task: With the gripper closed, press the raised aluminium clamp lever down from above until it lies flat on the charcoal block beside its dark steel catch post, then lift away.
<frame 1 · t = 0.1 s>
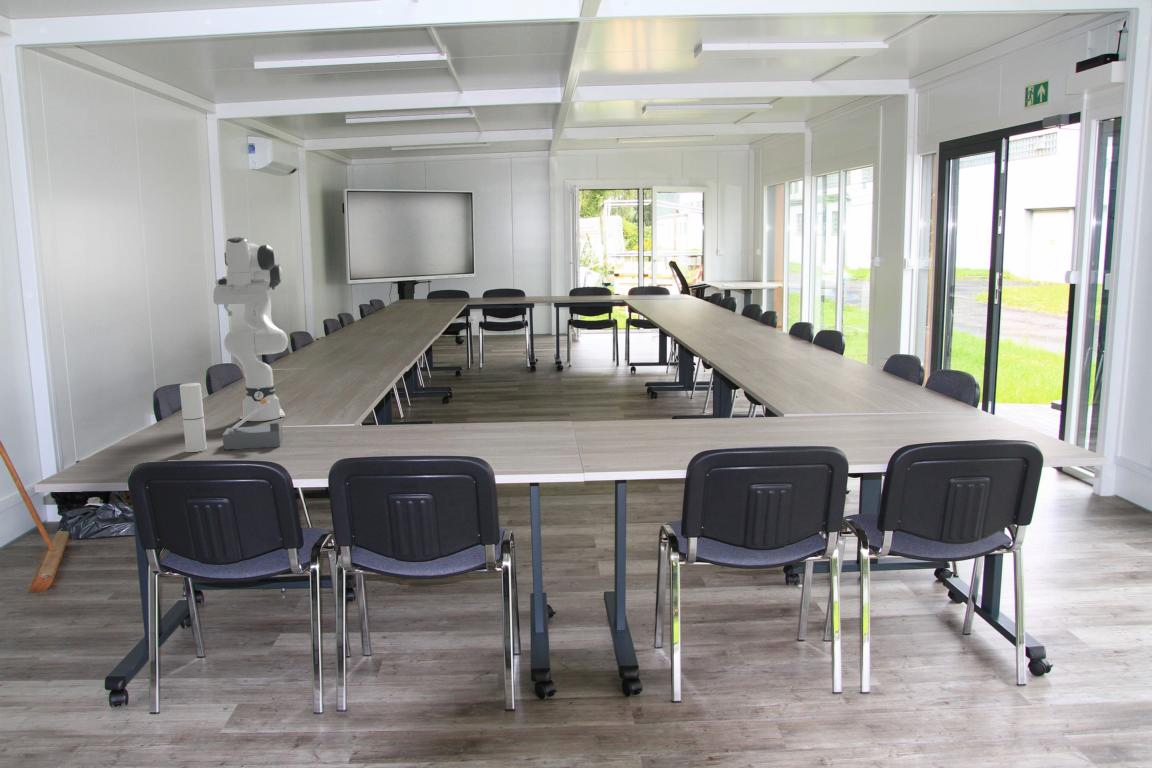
hand: (242, 315, 339), 48 cm above the table, tool pointing down, fingers open, 8 cm apart
clamp lever: (249, 414, 327), point 12 cm above the table, hinge at 35.0°
cylindrical container: (196, 451, 322), on the table
clamp block: (254, 444, 330), on the table
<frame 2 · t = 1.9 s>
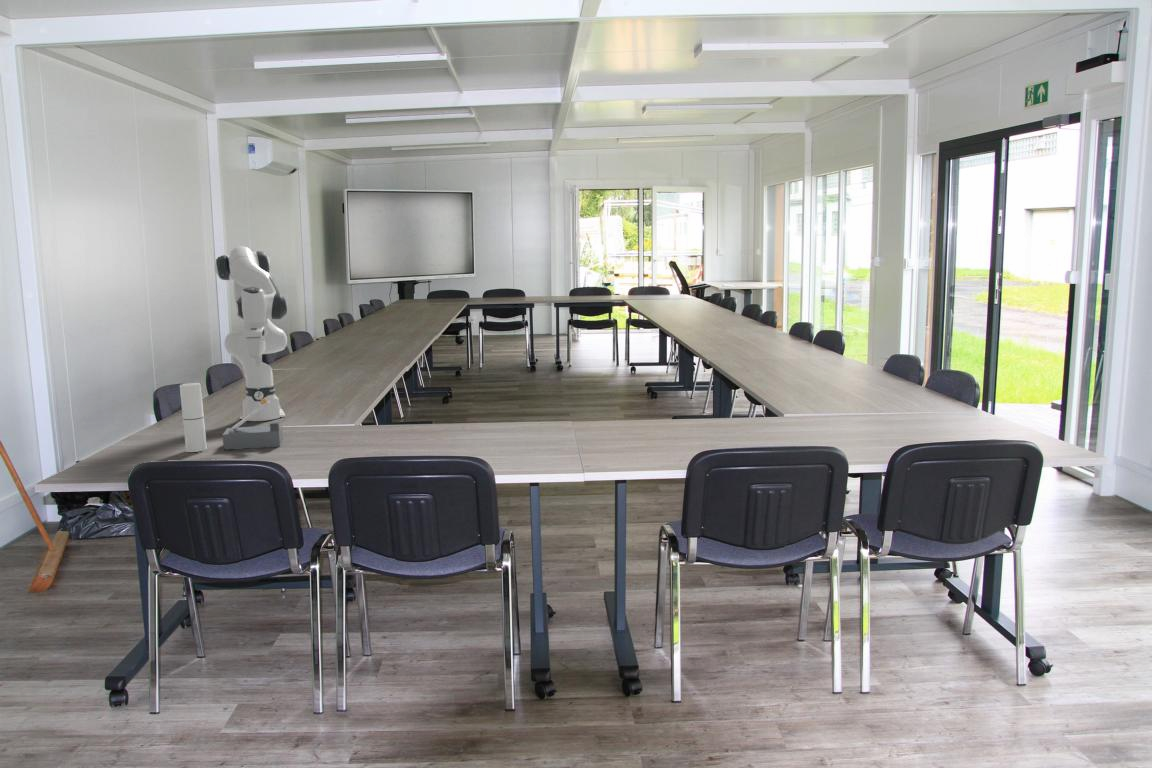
hand: (258, 366, 333), 29 cm above the table, tool pointing down, fingers closed
nothing on the table moved.
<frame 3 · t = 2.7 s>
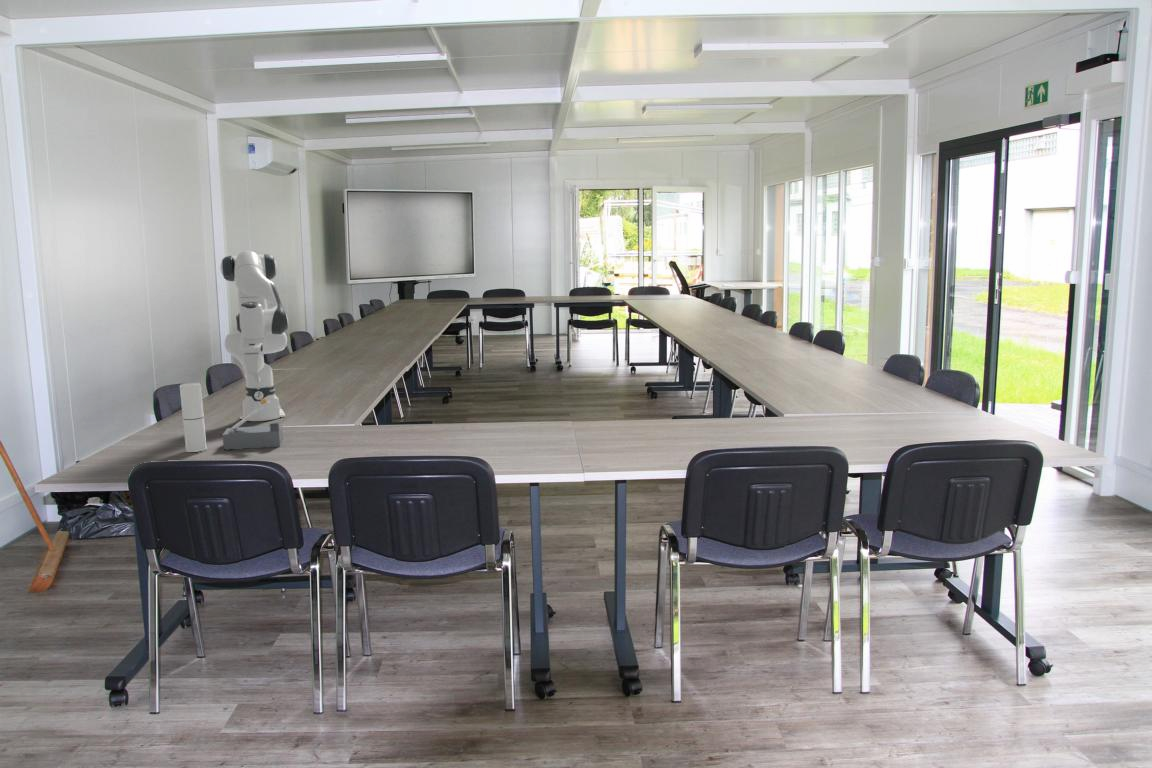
hand: (257, 382, 326), 24 cm above the table, tool pointing down, fingers closed
nothing on the table moved.
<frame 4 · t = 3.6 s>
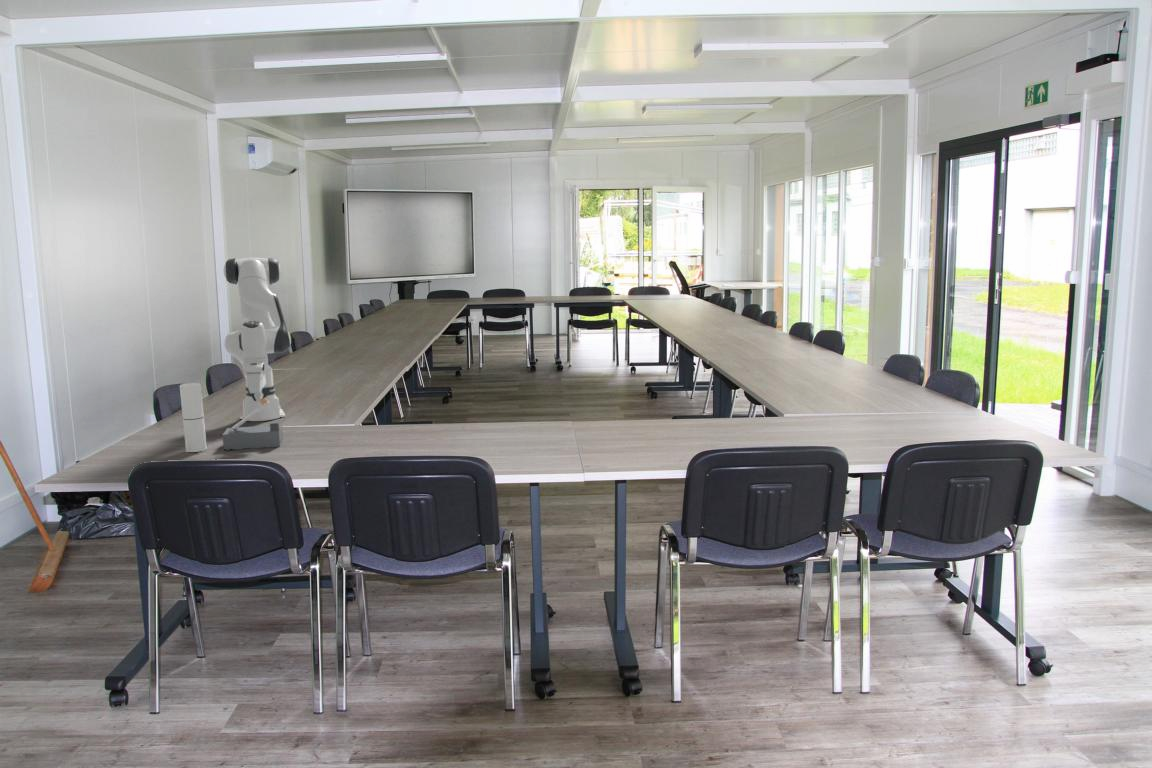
hand: (258, 400, 327), 17 cm above the table, tool pointing down, fingers closed, pressing on clamp lever
clamp lever: (249, 414, 327), point 12 cm above the table, hinge at 34.9°, touching gripper
everything else where it was.
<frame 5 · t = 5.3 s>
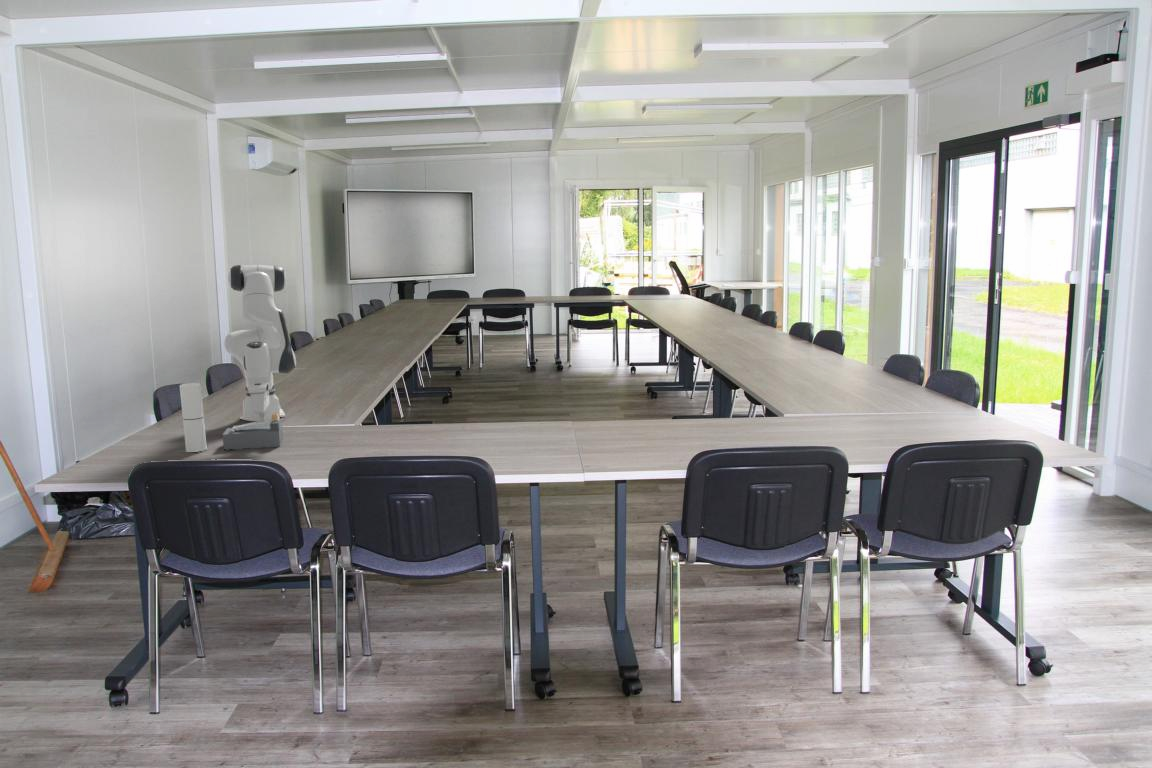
hand: (262, 421, 328), 9 cm above the table, tool pointing down, fingers closed, pressing on clamp lever
clamp lever: (255, 421, 328), point 9 cm above the table, hinge at 9.7°, touching gripper
everything else where it was.
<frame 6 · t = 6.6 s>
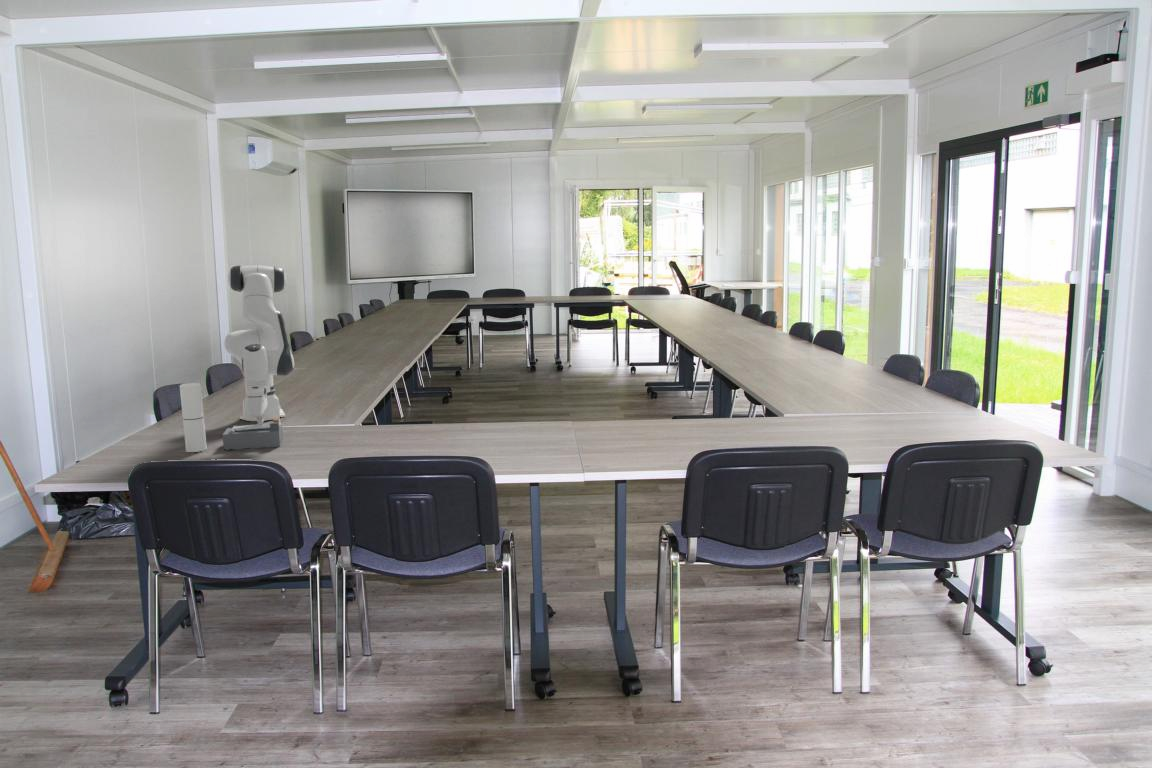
hand: (260, 423, 329), 8 cm above the table, tool pointing down, fingers closed
clamp lever: (256, 424, 328), point 8 cm above the table, hinge at 2.9°
everything else where it was.
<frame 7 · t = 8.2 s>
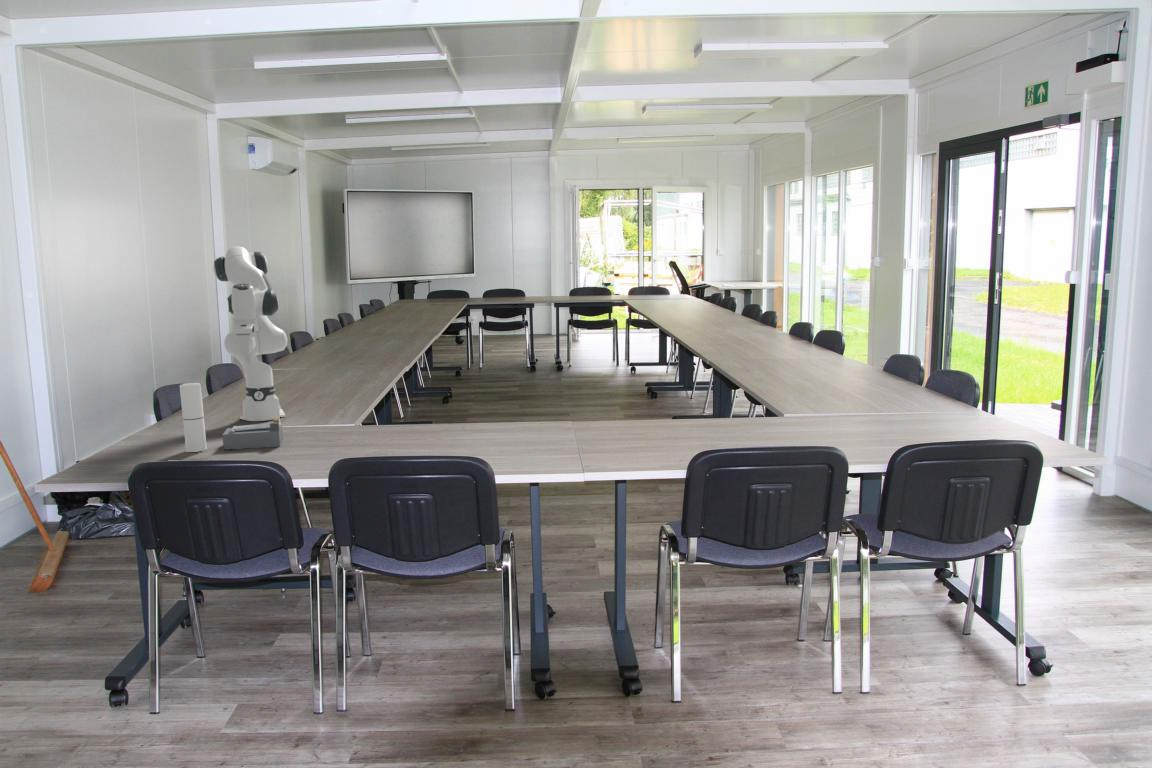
hand: (248, 362, 334), 30 cm above the table, tool pointing down, fingers closed
nothing on the table moved.
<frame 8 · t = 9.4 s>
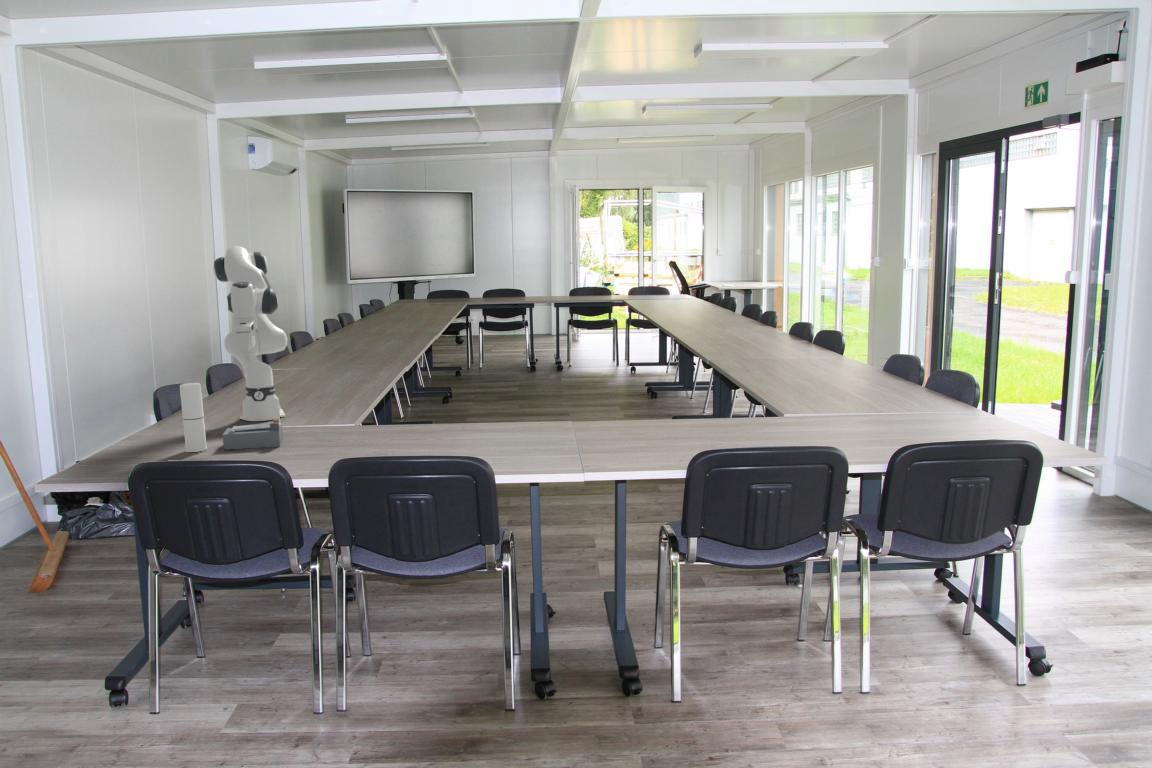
hand: (248, 360, 333), 31 cm above the table, tool pointing down, fingers closed
nothing on the table moved.
at the end: clamp lever at +3° (first picture: +35°); cylindrical container moved 0.2 cm from its start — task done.
